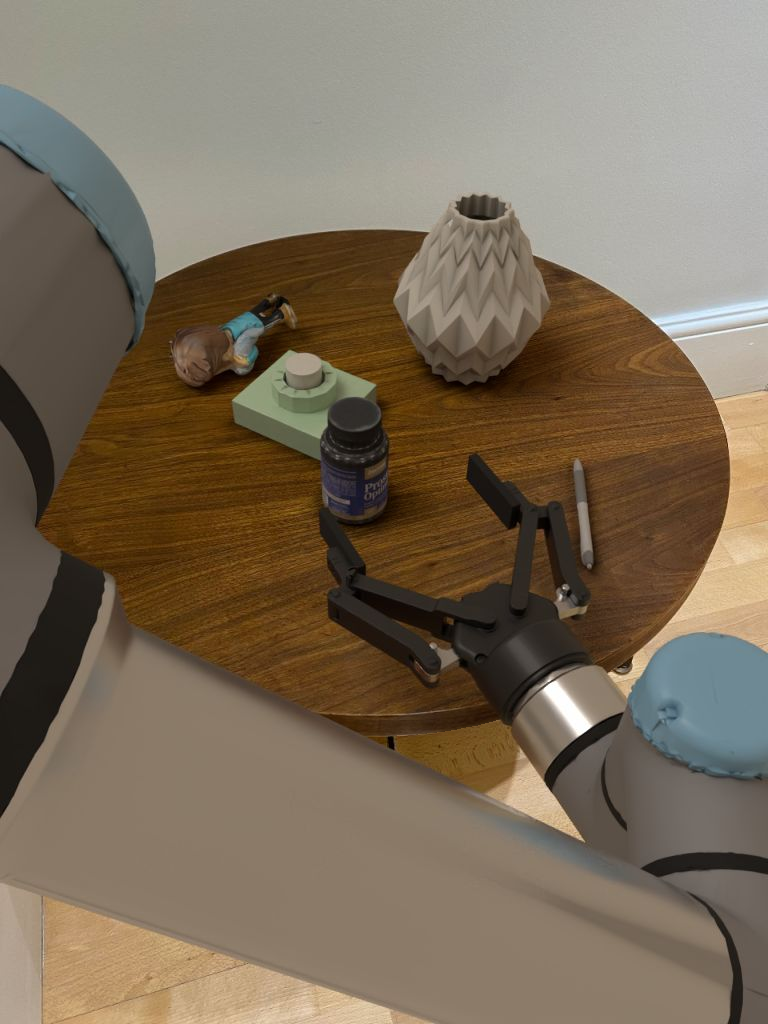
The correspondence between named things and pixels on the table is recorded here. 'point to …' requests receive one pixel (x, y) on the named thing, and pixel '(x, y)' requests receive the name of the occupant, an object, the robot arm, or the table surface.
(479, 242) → the vase
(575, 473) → the pen
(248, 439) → the table surface
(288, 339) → the table surface
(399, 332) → the table surface
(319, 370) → the cylinder peg
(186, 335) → the figurine
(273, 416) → the green base with collar
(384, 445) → the pill bottle
